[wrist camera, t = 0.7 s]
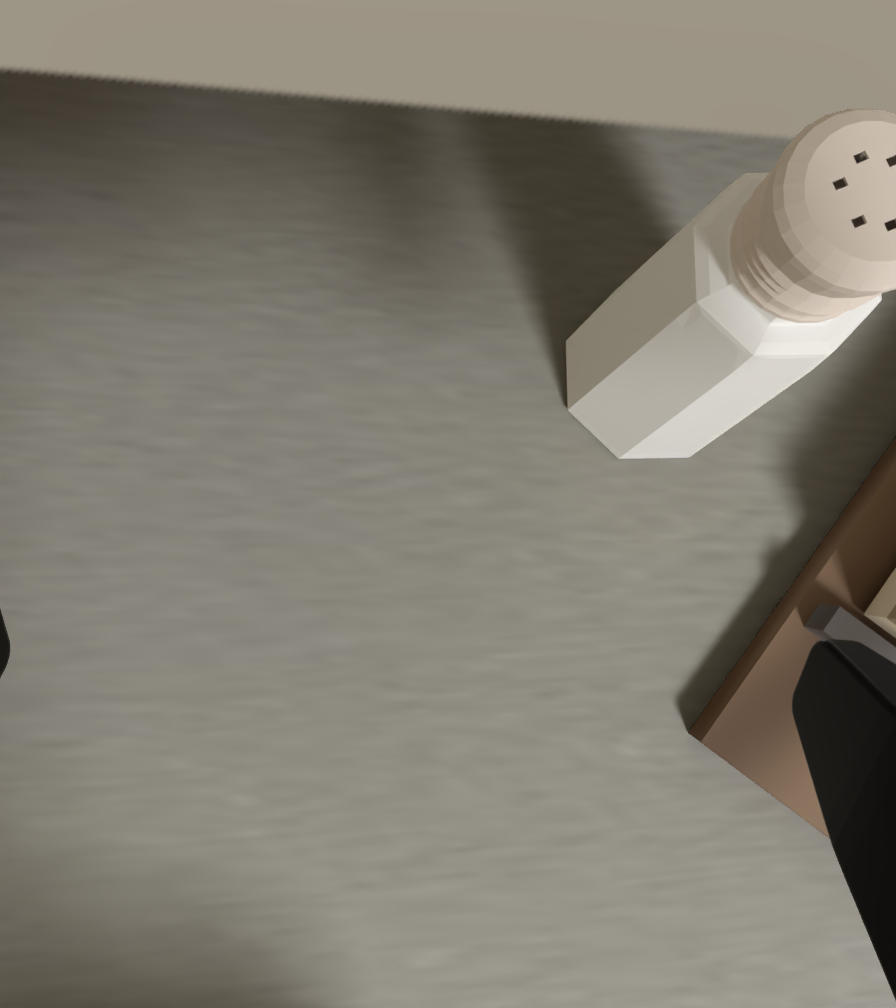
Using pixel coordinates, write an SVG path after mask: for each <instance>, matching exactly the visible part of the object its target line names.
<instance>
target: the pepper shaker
mask: <svg viewBox="0 0 896 1008" xmlns="http://www.w3.org/2000/svg"><path fill="white" fill-rule="evenodd" d="M895 289H896V114H893V113H889V112H885V111H881V110H876V109H847V110H844V111H840V112H836V113H833V114H829V115H826V116H824V117H822V118H820V119H819V120H817V121H815V122H814V123H812V124H810V125H808V126H807V127H805V128H804V129H803V130H802V131H801V132H800V133H799V134H798V135H797V136H796V137H795V138H794V139H793V140H792V141H791V143H790V144H789V145H788V146H787V147H786V149H785V150H784V151H783V153H782V155H781V157H780V159H779V160H778V162H777V164H776V166H775V168H774V169H773V170H772V171H771V172H770V173H745V174H744V175H742V176H741V177H740V178H738V179H737V180H736V181H735V182H733V183H732V184H731V185H729V186H728V187H727V188H726V189H725V190H723V191H722V192H721V193H720V194H719V195H718V196H717V197H716V198H715V199H714V200H713V201H712V202H710V203H709V204H708V205H707V206H706V207H705V208H704V209H703V210H702V211H701V212H700V213H699V214H697V215H696V216H695V217H694V218H693V219H692V220H691V221H690V222H689V223H688V224H687V225H686V226H684V227H683V228H682V229H681V230H680V231H679V232H678V233H677V234H676V235H675V236H674V237H673V238H671V239H670V240H669V241H668V242H667V243H666V244H665V245H664V246H663V247H662V248H661V249H660V250H658V251H657V252H656V253H655V254H654V255H653V256H652V257H651V258H650V259H649V260H648V261H647V262H645V263H644V264H643V265H642V266H641V267H640V268H639V269H638V270H637V271H636V272H635V273H634V274H632V275H631V276H630V277H629V278H628V279H627V280H626V281H625V282H624V283H623V284H622V285H621V286H619V287H618V288H617V289H616V290H615V291H614V292H613V293H612V294H611V295H610V296H609V297H608V298H607V299H606V300H605V301H604V302H603V303H602V304H601V305H600V306H599V307H598V308H597V309H596V310H595V311H594V313H593V314H592V315H591V316H590V317H589V318H588V319H587V320H586V321H585V322H584V323H583V324H582V325H581V326H580V327H579V328H578V329H577V330H576V331H575V332H574V333H573V334H572V335H571V336H570V337H569V338H568V339H567V340H566V367H567V403H568V411H569V412H570V413H571V414H572V415H573V416H574V417H576V418H577V419H578V420H579V421H580V422H581V423H582V424H583V425H584V426H585V427H586V428H587V429H588V430H589V431H590V432H591V433H592V434H593V435H594V436H595V437H597V438H598V439H599V440H600V441H601V442H602V443H603V444H604V445H605V446H606V447H607V448H608V449H609V450H610V451H611V452H612V453H613V454H614V455H615V456H616V457H618V458H619V459H627V458H689V457H690V456H692V455H693V454H694V453H696V452H697V451H699V450H700V449H701V448H703V447H704V446H706V445H707V444H709V443H710V442H711V441H713V440H714V439H716V438H717V437H718V436H720V435H721V434H723V433H724V432H725V431H727V430H728V429H730V428H731V427H733V426H734V425H735V424H737V423H738V422H740V421H741V420H742V419H744V418H745V417H747V416H748V415H749V414H751V413H752V412H754V411H755V410H756V409H758V408H759V407H761V406H762V405H764V404H765V403H766V402H768V401H769V400H771V399H772V398H773V397H775V396H776V395H778V394H779V393H780V392H782V391H783V390H785V389H786V388H788V387H789V386H790V385H792V384H793V383H795V382H796V381H797V380H799V379H800V378H802V377H803V376H804V375H806V374H807V373H809V372H810V371H811V370H813V369H814V368H815V367H816V366H817V365H819V364H820V363H821V362H822V361H823V360H824V359H826V358H827V357H828V356H829V355H830V354H831V353H833V352H834V351H835V350H836V349H837V348H838V347H839V346H840V345H841V344H842V342H843V341H844V340H845V339H846V338H847V337H848V336H849V335H850V334H851V333H852V332H853V331H854V330H855V329H856V328H857V327H858V326H859V324H860V323H861V322H862V321H863V320H864V319H865V318H866V317H867V316H868V315H869V314H870V313H871V312H872V310H873V309H874V308H875V307H876V306H877V305H878V304H879V303H880V301H881V300H882V295H881V294H882V293H884V292H888V291H891V290H895Z"/></svg>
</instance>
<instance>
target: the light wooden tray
mask: <svg viewBox="0 0 896 1008" xmlns="http://www.w3.org/2000/svg"><path fill="white" fill-rule="evenodd" d="M863 615H865V616H866V617H868V618H869V619H870V620H872V621H873V622H874V623H876V624H877V625H878V626H880V627H881V628H883V629H884V630H885V631H887V632H888V633H889V634H891V635H892V636H893V637H895V638H896V568H895V570H894V571H893V572H892V574H891V575H890V577H889V578H888V580H887V581H886V583H885V584H884V585H883V587H882V588H881V590H880V591H879V593H878V594H877V596H876V597H875V598H874V600H873V601H872V603H871V604H870V606H869V607H868V609H867V610H866V611H865V613H864V614H863Z"/></svg>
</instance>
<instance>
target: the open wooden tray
mask: <svg viewBox="0 0 896 1008" xmlns="http://www.w3.org/2000/svg"><path fill="white" fill-rule="evenodd" d="M895 568H896V437H895V439H894V440H893V442H892V443H891V445H890V446H889V447H888V449H887V450H886V452H885V453H884V455H883V456H882V457H881V459H880V460H879V462H878V463H877V465H876V466H875V467H874V469H873V470H872V472H871V473H870V474H869V476H868V477H867V479H866V480H865V482H864V483H863V484H862V486H861V487H860V489H859V490H858V492H857V493H856V494H855V496H854V497H853V499H852V500H851V502H850V503H849V504H848V506H847V507H846V509H845V510H844V511H843V513H842V514H841V516H840V517H839V519H838V520H837V521H836V523H835V524H834V526H833V527H832V529H831V530H830V531H829V533H828V534H827V536H826V537H825V539H824V540H823V541H822V543H821V544H820V546H819V547H818V548H817V550H816V551H815V553H814V554H813V556H812V557H811V558H810V560H809V561H808V563H807V564H806V566H805V567H804V568H803V570H802V571H801V573H800V574H799V576H798V577H797V578H796V580H795V581H794V583H793V584H792V585H791V587H790V588H789V590H788V591H787V593H786V594H785V595H784V597H783V598H782V600H781V601H780V603H779V604H778V605H777V607H776V608H775V610H774V611H773V613H772V614H771V615H770V617H769V618H768V620H767V621H766V622H765V624H764V625H763V627H762V628H761V630H760V631H759V632H758V634H757V635H756V637H755V638H754V640H753V641H752V642H751V644H750V645H749V647H748V648H747V650H746V651H745V652H744V654H743V655H742V657H741V658H740V659H739V661H738V662H737V664H736V665H735V667H734V668H733V669H732V671H731V672H730V674H729V675H728V677H727V678H726V679H725V681H724V682H723V684H722V685H721V687H720V688H719V689H718V691H717V692H716V694H715V695H714V696H713V698H712V699H711V701H710V702H709V704H708V705H707V706H706V708H705V709H704V711H703V712H702V714H701V715H700V716H699V718H698V719H697V721H696V722H695V724H694V725H693V726H692V728H691V729H690V731H689V732H688V733H689V734H690V735H692V736H693V737H694V738H696V739H697V740H699V741H700V742H701V743H703V744H704V745H705V746H707V747H708V748H709V749H711V750H712V751H713V752H715V753H716V754H717V755H719V756H720V757H721V758H723V759H724V760H725V761H727V762H728V763H729V764H731V765H732V766H733V767H735V768H736V769H737V770H739V771H740V772H741V773H743V774H744V775H745V776H747V777H748V778H749V779H751V780H752V781H754V782H755V783H756V784H758V785H759V786H760V787H762V788H763V789H764V790H766V791H767V792H768V793H770V794H771V795H772V796H774V797H775V798H776V799H778V800H779V801H780V802H782V803H783V804H784V805H786V806H787V807H788V808H790V809H791V810H792V811H794V812H795V813H796V814H798V815H799V816H800V817H802V818H803V819H804V820H806V821H807V822H808V823H810V824H811V825H813V826H814V827H815V828H817V829H818V830H819V831H821V832H822V833H823V834H825V835H826V836H827V837H829V834H828V831H827V828H826V825H825V822H824V819H823V815H822V812H821V808H820V805H819V802H818V798H817V795H816V792H815V788H814V785H813V782H812V778H811V775H810V772H809V768H808V765H807V761H806V758H805V755H804V751H803V748H802V745H801V741H800V738H799V735H798V731H797V728H796V725H795V721H794V718H793V713H792V697H793V693H794V690H795V687H796V685H797V682H798V680H799V677H800V675H801V672H802V670H803V667H804V665H805V662H806V660H807V657H808V655H809V652H810V650H811V648H812V646H813V645H814V644H815V643H816V642H817V641H819V640H821V639H838V640H853V641H857V642H860V643H862V644H864V645H865V646H867V647H869V648H870V649H872V650H874V651H875V652H877V653H879V654H880V655H882V656H883V657H885V658H887V659H888V660H890V661H892V662H893V663H895V664H896V638H895V637H893V636H892V635H891V634H889V633H888V632H887V631H885V630H884V629H883V628H881V627H880V626H878V625H877V624H876V623H874V622H873V621H872V620H870V619H869V618H868V617H866V616H865V615H863V614H864V613H865V611H866V610H867V609H868V607H869V606H870V604H871V603H872V601H873V600H874V598H875V597H876V596H877V594H878V593H879V591H880V590H881V588H882V587H883V585H884V584H885V583H886V581H887V580H888V578H889V577H890V575H891V574H892V572H893V571H894V570H895ZM829 838H830V837H829Z"/></svg>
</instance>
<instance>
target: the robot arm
mask: <svg viewBox="0 0 896 1008" xmlns="http://www.w3.org/2000/svg"><path fill="white" fill-rule="evenodd" d="M9 655H10V641H9V637H8V634H7V630H6V627H5V623H4V620H3V616H2V613H1V609H0V678H1V676H2V674H3V672H4V670H5V668H6V665H7V663H8V659H9ZM792 713H793V718H794V721H795V725H796V728H797V731H798V735H799V738H800V741H801V745H802V748H803V751H804V755H805V758H806V761H807V765H808V768H809V772H810V775H811V778H812V782H813V785H814V788H815V792H816V795H817V798H818V802H819V805H820V808H821V812H822V815H823V819H824V822H825V825H826V828H827V831H828V834H829V837H830V840H831V843H832V846H833V849H834V851H835V854H836V857H837V859H838V862H839V864H840V867H841V869H842V872H843V874H844V877H845V879H846V882H847V884H848V886H849V889H850V891H851V894H852V896H853V898H854V901H855V903H856V906H857V908H858V910H859V913H860V915H861V918H862V920H863V923H864V925H865V927H866V930H867V932H868V935H869V937H870V939H871V942H872V944H873V947H874V949H875V952H876V954H877V956H878V959H879V961H880V964H881V966H882V968H883V971H884V973H885V976H886V978H887V980H888V983H889V985H890V988H891V990H892V993H893V995H894V997H895V1000H896V664H895V663H893V662H892V661H890V660H888V659H887V658H885V657H883V656H882V655H880V654H879V653H877V652H875V651H874V650H872V649H870V648H869V647H867V646H865V645H864V644H862V643H860V642H857V641H853V640H838V639H821V640H819V641H817V642H816V643H815V644H814V645H813V646H812V648H811V650H810V652H809V655H808V657H807V660H806V662H805V665H804V667H803V670H802V672H801V675H800V677H799V680H798V682H797V685H796V687H795V690H794V693H793V697H792Z"/></svg>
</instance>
